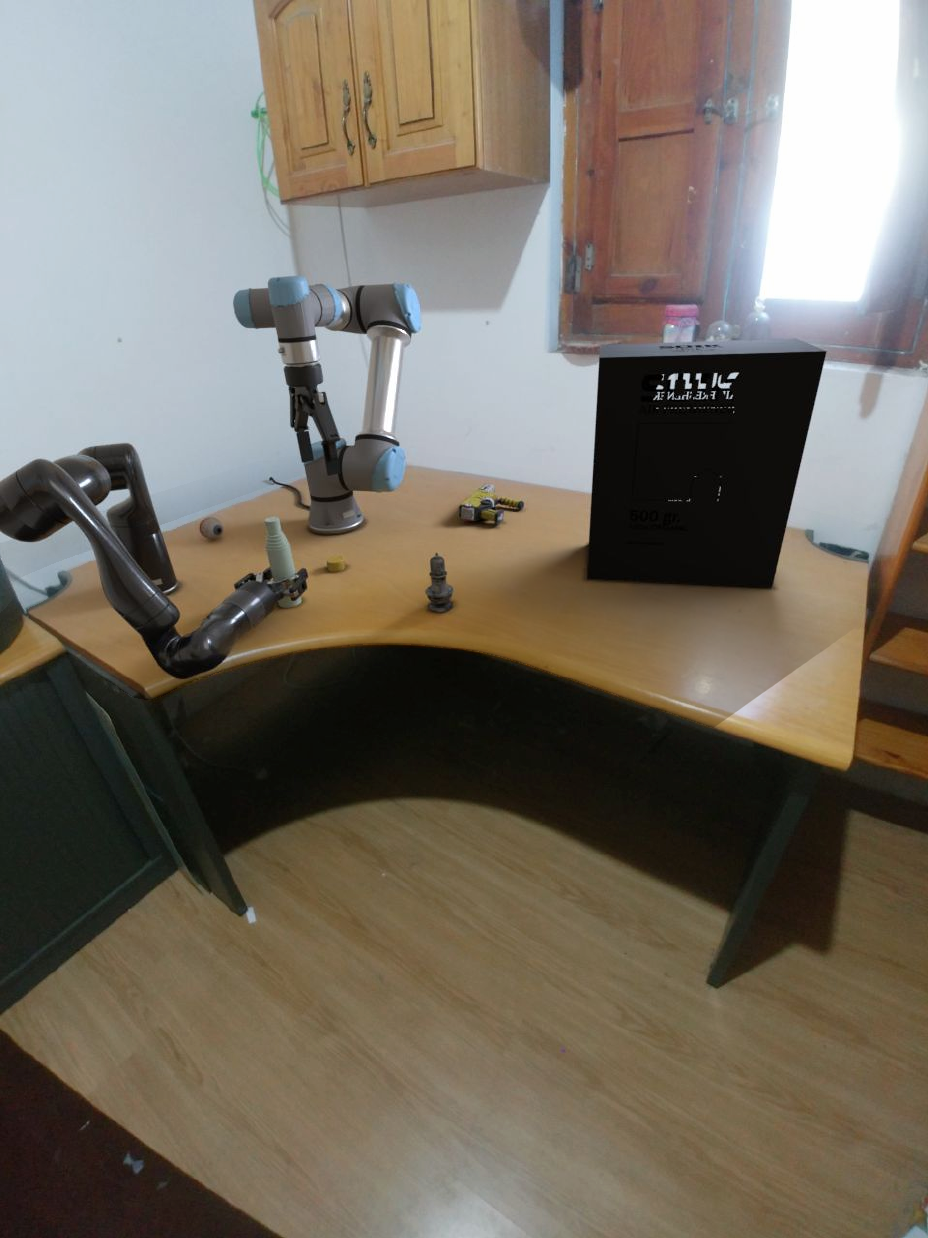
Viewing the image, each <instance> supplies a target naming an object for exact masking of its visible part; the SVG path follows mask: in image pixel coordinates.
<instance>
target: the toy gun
mask: <svg viewBox="0 0 928 1238" xmlns="http://www.w3.org/2000/svg"><path fill="white" fill-rule="evenodd" d="M495 489H496V486H495V484H493V483H490V485H489V483H488V482H486V483H485V484H483V485H482V486H481V487H480V488H478V489H476V490H475V491H474V492H473V493H472V494H470V495H469V496H468V497H467V498H466V499H465V500H464V501H463V502H462V503H461V504H460V505H458V513H457V517H458V518H459V519H460V520H463V522H469V523H470V521H471V522H478V521H481V520H482V521H483V520H488V521H492V522H494V525H500V524H501V523H502V522H503V521H504V516H505V510H504V509H502V508H501V509H499V510H498V509H497V507H496V506H498V505H500V506H505V507H509V508H513V509H514V508H515V509H517V510H519V511H520V510H523V509H524V508H525V502H524V501H523V500H517V499H513V498H509V497H505V496H500V498H498V496H497V495H496V493H495Z"/></svg>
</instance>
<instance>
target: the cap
mask: <svg viewBox="0 0 928 1238" xmlns="http://www.w3.org/2000/svg"><path fill="white" fill-rule="evenodd" d="M326 567H327V570H328V572H331V573H338V572H342V571H344V570H345V569H346V563H345V557H343V556H342V555H332V556H329V557H328V558H326Z"/></svg>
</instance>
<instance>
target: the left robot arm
mask: <svg viewBox="0 0 928 1238" xmlns="http://www.w3.org/2000/svg"><path fill="white" fill-rule="evenodd" d="M146 480H147V479H146V476H145V473H144V469H143V465H142V461H141V457H140V456H139V453H138V451H137V449H136V448H135V447H134V445H132V443H129V442H119V443H109V444H100V445H91V446H88V447H85V448H83V449H81V450H80V451H78V452H77V453H76V454H70V455H67V456H63V457H60V458H57V459H55V460H53V461H51V460H49V459H45V458H36V459H33V460H32V461H29V462H28V463H26V464H25V465H23V466H21V467H20V468H18V469H17V470H15V471H14V472H12V473H11V474H9V475H8V476H6V477H4V478H2V479H1V480H0V533H2V534H3V535H5V536H6V537H8V538H11V539H12V540H15V541H18V542H23V543H38V542H40V541H43V540H46V539H48V538H50V537H51V536H52V535H54V534H56V532H58V531H60V530H62V529H63V528H64V527H66V526H68V525H70V524H71V523H73V522H74V523H75V524H76V525H77V527H78V528H79V529H80V530H81V531H82V533H83V534H84V536H85V537H86V538H87V540H88V542H89V544H90V546H91V548H92V552H93V555H94V558H95V562H96V566H97V570H98V573H99V574H98V576H99V579H100V584H101V587H102V591H103V594H104V596H105V598H106V600H107V602H108V603H109V605H110V606H111V608H113V610H114V611H115V612H116V613H117V614H118V615H119V616H120V617H121V618H122V619H123V620H124V621H125V622H126V623H127V624H128V625H129V626H130V627H131V628H132V629H133V630H134V631H136V632H137V634H139V635H140V636H141V639H142V642H144V645H145V646H146V648H147V650H148V651H149V653H150V655H151V656H152V658H153V660H154V662H155V663H156V664H157V666H158V667H159V668H160V669H161V670H162V671H163V672H164V673H165V674H167V675H168V676H170V677H172V678H174V679H178V680H187V679H190V678H194V677H196V676H198V675H201V674H204V673H207V672H210V671H213V670H214V669H215V668H217V667H219V666H220V665H222V663H223V662H224V661H225V660H226V659H227V657H228V656H229V655H230V653H231V652H232V650H233V649H234V648H235V647H234V646H235V644H237V643H238V642H239V641H240V640H242V638H244V637H245V636H246V635H247V634H248V633H250V632H251V631H252V630H254V629H256V627H257V626H259V625H260V624H261V623H262V622H263V621H264V620H265V619H266V618H267V617H268V616H269V615H271V614H272V613H273V611H274V610H275V609H276V606H277V603H278V601H279V600H281V599H283V598H284V597H291V601H296V600H297V599H298V598H299V597H300V596H302V595H303V594H304V593H305V592H306V591H307V590H308V583H307V579H308V578H309V573H308V570H307V568H306V567H301V568H300V569H299V570H298V571H297V572H296V574H295V575H294V576H292V577H289V578H287V577H283V578H280V579H277V580H273V577H272V572H271V568H270V566H269V567H266V568H265V569H264V570H263V571H259V572H257V573H256V574H255V573H254V572H249V573H247V574H246V575H245V576H243V577H242V578H241V579H239V580H237V582H235V583H233V587H234V591H233V592H232V593H231V594H230V595H229V596H227V597H226V598H225V599H224V600H223V601H222V602H221V603H220V604H219V605H218V606H216V607H215V608H214V609H213V610H211V612H209V613H208V614H207V615H206V616H205V617H204V618H203V619H202V621H201V623H200V626H199V627H198V628H196V629H194V630H193V631H191V632H189V633H187V634H184V635H181V634H180V633H179V631H178V630H177V628H176V625H177V623H178V622H179V621H180V618H181V613H180V612H181V611H180V610H179V608H178V606H176V604H175V603H174V602H173V601H172V600H171V599H170V598H169V597H168V595H170V594H172V593H174V592H175V591H177V589H178V588H179V586H180V585H179V581H178V579H177V576H176V573H175V570H174V566H173V564H172V561H171V558H170V557H171V556H170V554H169V551H168V548H167V544H166V542H165V538H164V535H163V533H162V529H161V526H160V523H159V520H158V518H157V515H156V511H155V508H154V505H153V501H152V498H151V494H150V491H149V488H148V484H147V481H146ZM122 490H128V492H129V495H128V496H127V497H126V498H125V499H123V500H122V501H119V502H118V503H116V504H114V505H112V506H111V507H110V508H108V509H107V511H106V512H105V514H106V516H105V517H106V519H107V520H106V519H105V517H104V516H103V515H102V513H101V512H100V511H99V509H98V508H97V506H99V505H100V504H102V503H103V502H104V501H105V500H106V499H107V498H108V497H109V494H110V492H116V491H122ZM292 581H294V584H293V585H292V586H291V582H292ZM283 582H284V583H285V588H286V589H285V590H284V588H283V584H282V583H283Z"/></svg>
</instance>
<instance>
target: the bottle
mask: <svg viewBox="0 0 928 1238" xmlns="http://www.w3.org/2000/svg"><path fill="white" fill-rule="evenodd" d="M280 520H281V519H280V518H279V517H278V516H269V517H267V518H265V519H264V521H263V522H264V525H265V528H266V529H265V530H266V533H267V534H266V537H265V538H266V539H265V550H266V556H267V559H268V564H269V567H270V568H271V572H272V577H273V578H272V580H277V579H280V578H283V577H287V578H289V577H292V576H294V575H295V574H296V573H297V572H296V568H295V563H294V558H293V554H292V549H291V544H290V541H289V540H288V539H287V537H286V534H285V533H284V531H283V530H282V526H281V522H280ZM282 584H283V588H284V590H285V589H286V588H285V583H284V582H283V583H282ZM293 584H294V581H292V582H291V586H292V585H293ZM301 596H302V595H301ZM301 596H300V597H299V598H298V599H297V600H296V601H291V597H284V598H283V599H281V600H279V601H277V603H278V605H279V607H281V608H285V609H289V608H295V607H298V606H299V605H300V604H301V603H302V597H301Z"/></svg>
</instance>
